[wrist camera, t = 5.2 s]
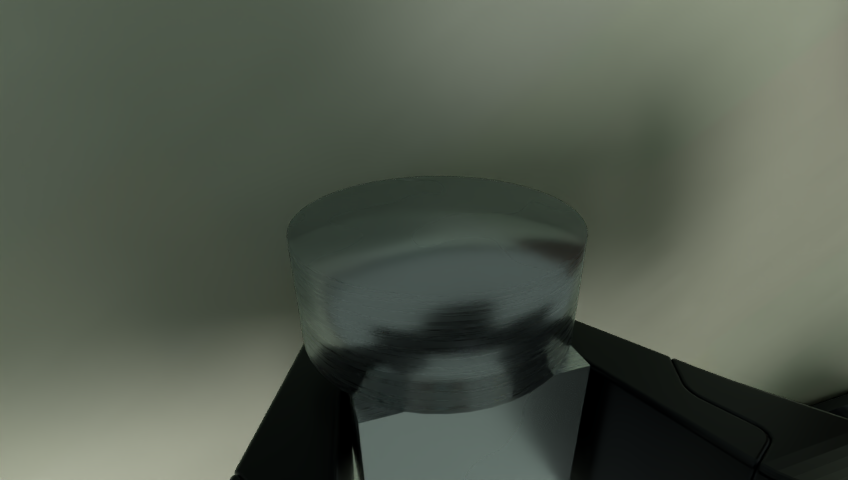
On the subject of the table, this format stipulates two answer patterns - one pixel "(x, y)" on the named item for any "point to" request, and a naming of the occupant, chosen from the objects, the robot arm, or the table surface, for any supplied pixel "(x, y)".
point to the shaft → (446, 325)
